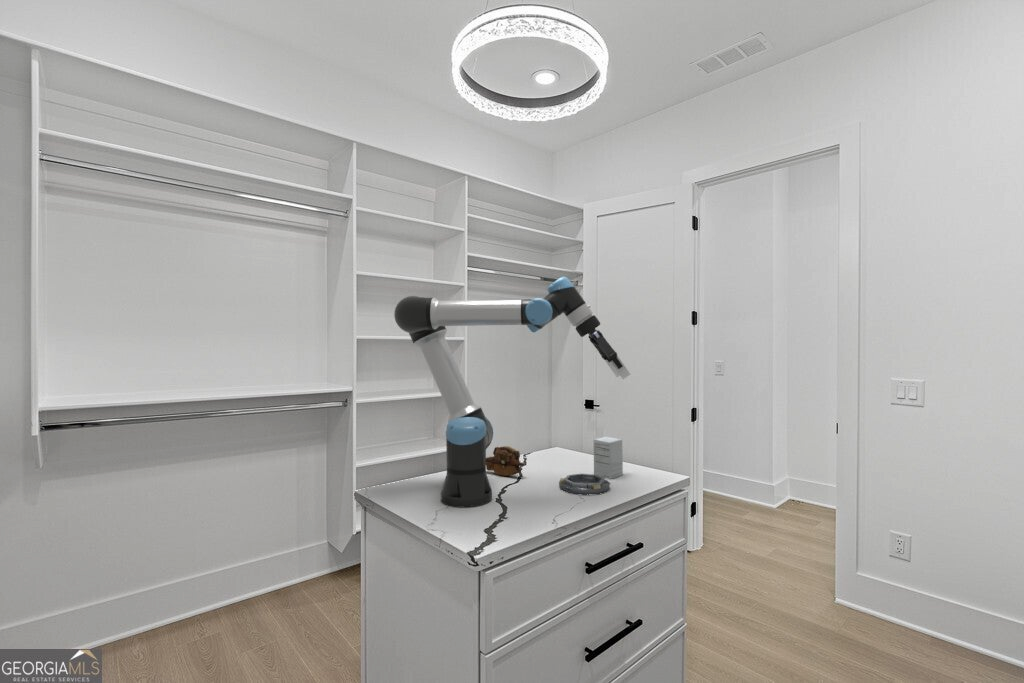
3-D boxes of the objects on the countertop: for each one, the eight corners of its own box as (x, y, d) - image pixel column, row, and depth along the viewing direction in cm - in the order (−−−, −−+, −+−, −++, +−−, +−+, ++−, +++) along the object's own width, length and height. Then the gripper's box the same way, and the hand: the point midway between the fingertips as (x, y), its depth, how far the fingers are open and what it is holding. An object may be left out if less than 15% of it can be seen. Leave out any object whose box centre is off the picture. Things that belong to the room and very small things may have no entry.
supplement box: (606, 471, 179) (605, 436, 179) (623, 475, 173) (623, 439, 173) (593, 475, 174) (592, 439, 174) (610, 479, 168) (610, 442, 168)
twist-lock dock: (575, 497, 149) (575, 488, 149) (550, 483, 164) (550, 475, 164) (620, 491, 155) (619, 482, 155) (592, 478, 170) (592, 470, 170)
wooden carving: (480, 474, 177) (480, 445, 177) (487, 471, 181) (487, 443, 181) (521, 480, 168) (521, 450, 168) (527, 477, 172) (527, 448, 172)
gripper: (597, 310, 146) (640, 370, 144) (590, 317, 171) (627, 367, 169) (576, 325, 146) (619, 385, 145) (572, 329, 171) (609, 380, 170)
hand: (623, 375), depth 157 cm, fingers open, 13 cm apart
